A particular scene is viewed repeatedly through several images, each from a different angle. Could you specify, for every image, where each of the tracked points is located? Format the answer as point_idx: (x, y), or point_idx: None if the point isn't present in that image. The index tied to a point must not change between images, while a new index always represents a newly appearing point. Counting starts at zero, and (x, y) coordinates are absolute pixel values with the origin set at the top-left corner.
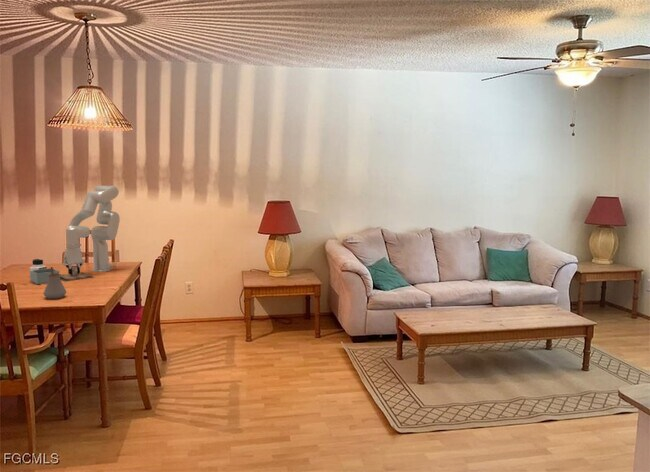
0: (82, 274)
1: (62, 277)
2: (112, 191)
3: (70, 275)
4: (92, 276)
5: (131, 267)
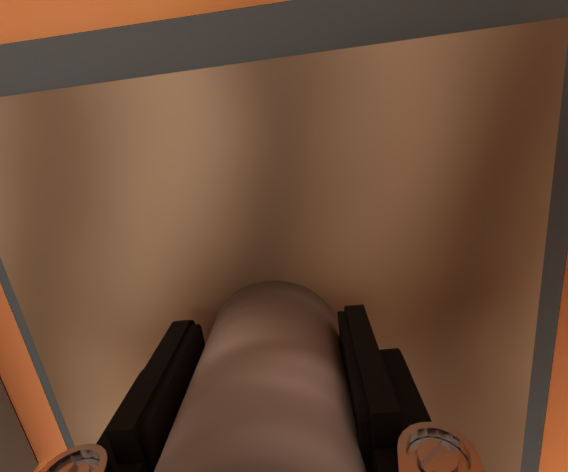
0: (437, 338)
1: (54, 393)
2: None
3: (209, 302)
4: (542, 424)
5: None
